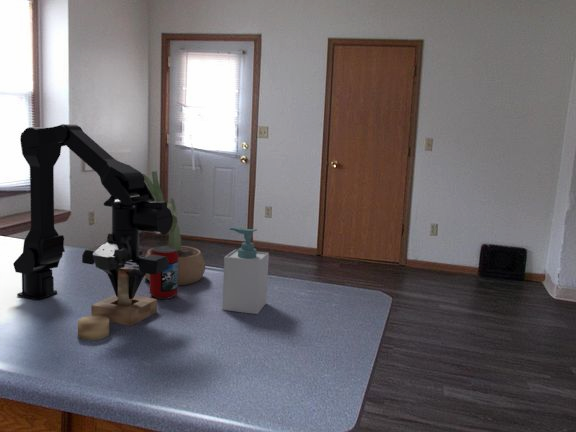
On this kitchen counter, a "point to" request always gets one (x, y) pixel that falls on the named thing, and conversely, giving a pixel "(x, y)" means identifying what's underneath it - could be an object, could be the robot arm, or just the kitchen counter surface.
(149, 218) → the robot arm
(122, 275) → the wooden dowel
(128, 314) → the square wooden frame
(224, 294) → the soap bottle
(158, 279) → the beverage can
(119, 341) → the kitchen counter surface
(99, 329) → the tan rounded disc
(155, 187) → the potted plant
